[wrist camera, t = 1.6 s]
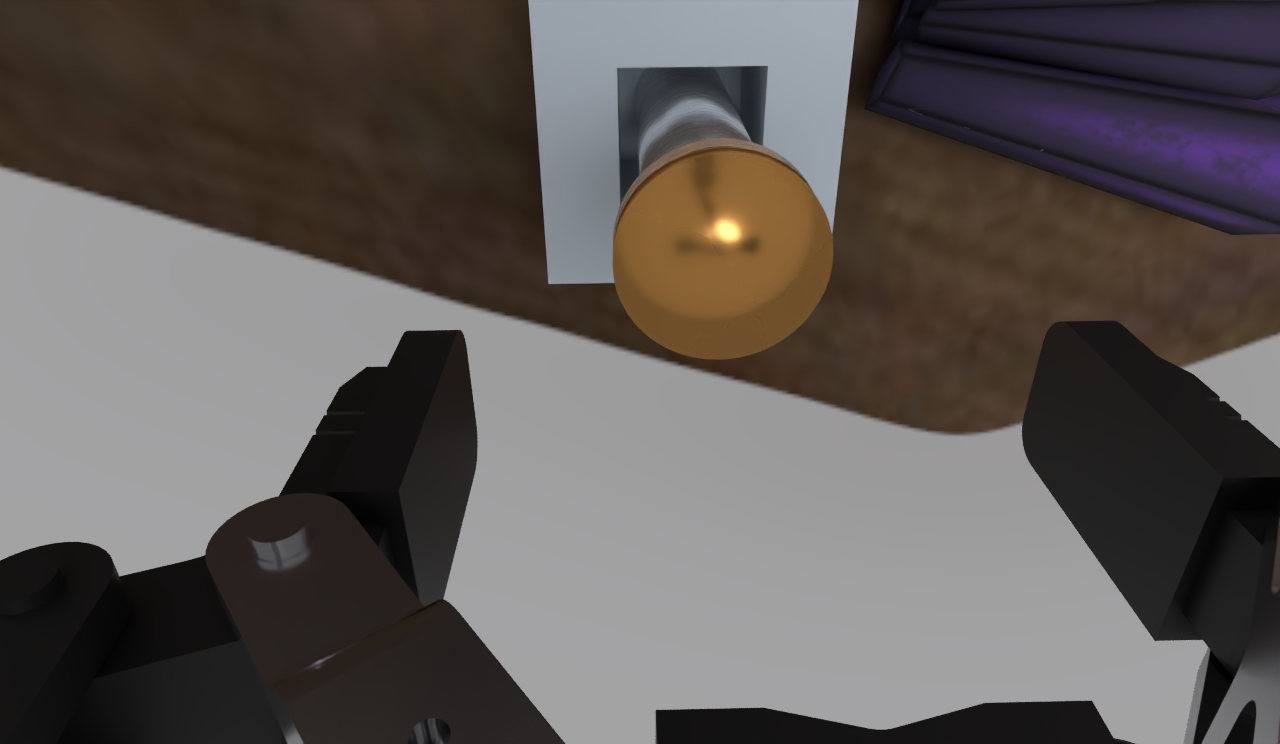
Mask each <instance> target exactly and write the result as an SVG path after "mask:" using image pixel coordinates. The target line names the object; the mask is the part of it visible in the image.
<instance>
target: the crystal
mask: <svg viewBox="0 0 1280 744" xmlns="http://www.w3.org/2000/svg"><path fill="white" fill-rule="evenodd" d="M891 40H893V41H899V42H898V43H897V45H896V46H895V48H894V49H893V51H892V52H891V54H890V55H889V57H888V58H887V59H886V61H885V62H884V64H883V65H882V67H881V68H880V70H879V71H878V73H877V76H876V79H875V81H874V84H873V87H872V89H871V92H870V95H869V98H868V100H867V103H866V106H865V108H864V109H867V110H870V111H873V112H876V113H879V114H881V115H884V116H887V117H890V118H893V119H896V120H899V121H902V122H905V123H908V124H911V125H914V126H916V127H919V128H922V129H925V130H928V131H931V132H934V133H937V134H940V135H943V136H946V137H948V138H951V139H954V140H957V141H960V142H963V143H966V144H969V145H972V146H975V147H978V148H981V149H983V150H986V151H989V152H992V153H995V154H998V155H1001V156H1004V157H1007V158H1010V159H1013V160H1015V161H1018V162H1021V163H1024V164H1027V165H1030V166H1033V167H1036V168H1039V169H1042V170H1045V171H1047V172H1050V173H1053V174H1056V175H1059V176H1062V177H1065V178H1068V179H1071V180H1074V181H1077V182H1080V183H1082V184H1085V185H1088V186H1091V187H1094V188H1097V189H1100V190H1103V191H1106V192H1109V193H1112V194H1114V195H1117V196H1120V197H1123V198H1126V199H1129V200H1132V201H1135V202H1138V203H1141V204H1144V205H1147V206H1149V207H1152V208H1155V209H1158V210H1161V211H1164V212H1167V213H1170V214H1173V215H1176V216H1179V217H1181V218H1184V219H1187V220H1190V221H1193V222H1196V223H1199V224H1202V225H1205V226H1208V227H1211V228H1214V229H1216V230H1219V231H1222V232H1225V233H1228V234H1231V235H1243V234H1280V0H904V2H903V4H902V7H901V9H900V12H899V14H898V16H897V19H896V21H895V25H894V29H893V34H892V39H891Z"/></svg>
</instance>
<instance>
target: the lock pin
mask: <svg viewBox="0 0 1280 744" xmlns="http://www.w3.org/2000/svg"><path fill="white" fill-rule="evenodd" d="M635 107H636V123H637V138H638V154H639V170H640V175H639V177H638V178H637V179H636V180H635V181H634V182H633V184H632V185H631V187H630V188H629V190H628V191H627V193H626V195H625V197H624V199H623V201H622V203H621V205H620V207H619V210H618V213H617V217H616V220H615V226H614V231H613V261H612V267H613V277H614V282H615V286H616V290H617V293H618V296H619V298H620V301H621V303H622V305H623V307H624V309H625V310H626V312H627V314H628V315H629V317H630V318H631V319H632V321H633V322H634V323H635V324H636V326H637V327H638V328H640V329H641V330H642V331H643V332H644V333H645V334H646V335H647V336H648V337H650V338H651V339H652V340H654V341H655V342H657V343H658V344H660V345H662V346H664V347H665V348H667V349H670V350H672V351H674V352H677V353H679V354H683V355H686V356H690V357H695V358H701V359H715V360H721V359H733V358H738V357H743V356H748V355H751V354H754V353H757V352H760V351H762V350H765V349H767V348H769V347H771V346H773V345H775V344H777V343H778V342H780V341H782V340H783V339H785V338H786V337H787V336H789V335H790V334H792V333H793V332H794V331H795V330H796V329H797V328H798V327H800V326H801V325H802V324H803V323H804V322H805V321H806V319H807V318H808V317H809V316H810V315H811V313H812V312H813V311H814V309H815V308H816V306H817V305H818V303H819V302H820V300H821V298H822V296H823V294H824V292H825V290H826V287H827V284H828V281H829V278H830V275H831V270H832V264H833V250H834V248H833V238H832V232H831V228H830V224H829V221H828V218H827V216H826V213H825V211H824V209H823V207H822V205H821V204H820V202H819V200H818V199H817V197H816V195H815V194H814V192H813V190H812V189H811V187H810V185H809V184H808V182H807V181H806V179H805V178H804V177H803V175H802V174H801V173H800V172H799V170H798V169H797V168H796V167H795V166H793V165H792V164H791V163H790V162H789V161H788V160H787V159H785V158H784V157H782V156H781V155H779V154H778V153H776V152H775V151H773V150H771V149H769V148H767V147H764V146H762V145H759V144H756V143H753V142H752V141H751V139H750V137H749V135H748V133H747V131H746V129H745V127H744V125H743V123H742V121H741V119H740V117H739V115H738V113H737V111H736V109H735V106H734V104H733V102H732V100H731V98H730V96H729V94H728V92H727V90H726V88H725V86H724V84H723V82H722V80H721V78H720V76H719V74H718V72H717V71H716V69H715V68H714V67H647V68H646V69H645V70H644V72H643V73H642V75H641V77H640V79H639V81H638V84H637V87H636V92H635Z"/></svg>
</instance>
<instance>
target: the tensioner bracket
mask: <svg viewBox="0 0 1280 744" xmlns="http://www.w3.org/2000/svg"><path fill="white" fill-rule="evenodd" d="M858 1H859V0H528V2H529V16H530V30H531V44H532V58H533V72H534V86H535V100H536V114H537V128H538V143H539V157H540V171H541V185H542V199H543V213H544V227H545V241H546V255H547V269H548V284H578V283H615V282H614V277H613V267H612V261H613V231H614V226H615V220H616V217H617V213H618V210H619V207H620V205H621V203H622V201H623V199H624V197H625V195H626V193H627V191H628V190H629V188H630V187H631V185H632V184H633V182H634V181H635V180H636V179H637V178H638V177H639V175H640V170H639V154H638V138H637V123H636V107H635V92H636V87H637V84H638V81H639V79H640V77H641V75H642V73H643V72H644V70H645V69H646V68H647V67H714V68H715V69H716V71H717V72H718V74H719V76H720V78H721V80H722V82H723V84H724V86H725V88H726V90H727V92H728V94H729V96H730V98H731V100H732V102H733V104H734V106H735V109H736V111H737V113H738V115H739V117H740V119H741V121H742V123H743V125H744V127H745V129H746V131H747V133H748V135H749V137H750V139H751V141H752V142H753V143H756V144H759V145H762V146H764V147H767V148H769V149H771V150H773V151H775V152H776V153H778V154H779V155H781V156H782V157H784V158H785V159H787V160H788V161H789V162H790V163H791V164H792V165H793V166H795V167H796V168H797V169H798V170H799V172H800V173H801V174H802V175H803V177H804V178H805V179H806V181H807V182H808V184H809V185H810V187H811V189H812V190H813V192H814V194H815V195H816V197H817V199H818V200H819V202H820V204H821V205H822V207H823V209H824V211H825V213H826V216H827V218H828V221H829V224H830V228H831V232H832V231H833V222H834V213H835V204H836V195H837V187H838V178H839V169H840V160H841V151H842V143H843V134H844V125H845V116H846V107H847V98H848V90H849V81H850V72H851V63H852V54H853V45H854V37H855V28H856V19H857V10H858Z"/></svg>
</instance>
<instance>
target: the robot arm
mask: <svg viewBox="0 0 1280 744" xmlns="http://www.w3.org/2000/svg"><path fill="white" fill-rule="evenodd" d="M1219 398H1220V397H1219V396H1218V395H1217V394H1216V393H1215V392H1213V391H1212V390H1211V389H1210V388H1209V387H1208V386H1206V385H1205V384H1204V383H1203V382H1202V381H1201V380H1199V379H1198V378H1197V377H1196V376H1195V375H1194V374H1192V373H1190V372H1188V371H1186V370H1184V369H1182V368H1180V367H1178V366H1176V365H1174V364H1172V363H1170V362H1168V361H1166V360H1164V359H1162V358H1160V357H1158V356H1157V355H1156V354H1154V353H1153V352H1152V351H1151V350H1150V349H1149V348H1148V347H1147V346H1145V345H1144V344H1143V343H1142V342H1141V341H1140V340H1139V339H1137V338H1136V337H1135V336H1134V335H1133V334H1132V333H1131V332H1129V331H1128V330H1127V329H1126V328H1125V327H1124V326H1123V325H1121V324H1120V323H1119V322H1116V321H1067V322H1056V323H1055V324H1053V325H1052V326H1051V327H1050V328H1049V330H1048V331H1047V333H1046V336H1045V338H1044V341H1043V345H1042V349H1041V353H1040V357H1039V360H1038V364H1037V368H1036V372H1035V376H1034V380H1033V383H1032V387H1031V391H1030V395H1029V399H1028V402H1027V406H1026V410H1025V414H1024V418H1023V425H1022V439H1023V446H1024V450H1025V453H1026V456H1027V458H1028V461H1029V462H1030V464H1031V466H1032V467H1033V468H1034V470H1035V471H1036V473H1037V474H1038V475H1039V477H1040V478H1041V480H1042V481H1043V483H1044V484H1045V485H1046V487H1047V488H1048V489H1049V491H1050V492H1051V494H1052V495H1053V497H1054V498H1055V500H1056V501H1057V502H1058V504H1059V505H1060V507H1061V508H1062V509H1063V511H1064V512H1065V514H1066V515H1067V517H1068V518H1069V520H1070V521H1071V522H1072V524H1073V525H1074V527H1075V528H1076V529H1077V531H1078V532H1079V534H1080V535H1081V537H1082V538H1083V539H1084V541H1085V542H1086V544H1087V545H1088V547H1089V548H1090V549H1091V551H1092V552H1093V553H1094V555H1095V556H1096V558H1097V559H1098V561H1099V562H1100V563H1101V565H1102V566H1103V568H1104V569H1105V570H1106V572H1107V574H1108V575H1109V576H1110V578H1111V579H1112V581H1113V582H1114V583H1115V585H1116V586H1117V588H1118V589H1119V591H1120V592H1121V593H1122V595H1123V596H1124V598H1125V599H1126V600H1127V602H1128V603H1129V605H1130V606H1131V607H1132V609H1133V610H1134V612H1135V613H1136V614H1137V616H1138V617H1139V619H1140V620H1141V622H1142V623H1143V624H1144V626H1145V627H1146V629H1147V630H1148V632H1149V633H1150V635H1151V636H1152V637H1153V639H1154V640H1155V641H1159V640H1203V641H1204V642H1205V643H1206V644H1207V646H1208V647H1209V648H1208V650H1207V652H1206V654H1205V656H1204V658H1203V660H1202V663H1201V665H1200V667H1199V670H1198V674H1197V678H1196V684H1195V688H1194V694H1193V699H1192V704H1191V709H1190V714H1189V719H1188V724H1187V729H1186V734H1185V739H1184V744H1280V448H1279V447H1278V446H1276V445H1275V444H1274V443H1273V442H1272V441H1271V440H1269V439H1268V438H1267V437H1266V436H1265V435H1264V434H1262V433H1261V432H1260V431H1259V430H1258V429H1256V428H1255V427H1254V426H1253V425H1252V424H1251V423H1250V422H1248V421H1247V420H1241V415H1240V414H1239V413H1238V412H1237V411H1236V410H1234V409H1233V408H1232V407H1231V406H1230V405H1229V404H1227V403H1226V402H1225V401H1220V400H1219ZM476 462H477V427H476V418H475V410H474V402H473V395H472V388H471V379H470V371H469V363H468V355H467V348H466V342H465V338H464V335H463V333H462V331H461V330H435V331H406V332H405V333H404V334H403V336H402V338H401V340H400V342H399V344H398V346H397V348H396V350H395V352H394V354H393V356H392V358H391V360H390V362H389V364H388V367H366V368H365V369H363V370H362V371H361V372H359V373H358V374H357V375H356V376H354V377H353V378H352V379H350V380H349V381H348V382H346V383H345V384H344V385H342V386H341V387H340V388H339V390H338V392H337V393H336V395H335V397H334V399H333V400H332V402H331V404H330V406H329V408H328V409H327V415H324V416H323V419H322V420H321V422H320V424H319V426H318V427H317V429H316V435H313V436H312V438H311V440H310V441H309V443H308V445H307V447H306V449H305V450H304V452H303V454H302V456H301V458H300V460H299V461H298V463H297V465H296V466H295V468H294V470H293V472H292V474H291V475H290V477H289V479H288V481H287V482H286V484H285V486H284V488H283V490H282V492H281V493H280V495H279V496H278V497H274V498H270V499H267V500H264V501H261V502H259V503H256V504H254V505H252V506H250V507H248V508H246V509H244V510H242V511H241V512H239V513H237V514H236V515H234V516H233V517H231V518H230V519H229V520H227V521H226V522H225V523H224V524H223V525H222V526H221V527H220V528H219V529H218V530H217V531H216V532H215V534H214V535H213V536H212V538H211V540H210V542H209V543H208V546H207V549H206V555H204V556H202V557H199V558H195V559H192V560H188V561H184V562H180V563H175V564H172V565H167V566H163V567H158V568H154V569H150V570H145V571H141V572H137V573H132V574H128V575H124V576H120V577H119V575H118V573H117V570H116V568H115V566H114V563H113V561H112V558H111V557H110V555H109V554H108V553H107V552H106V551H105V550H104V549H102V548H100V547H99V546H96V545H92V544H89V543H81V542H63V543H54V544H48V545H44V546H39V547H36V548H32V549H29V550H25V551H22V552H20V553H17V554H14V555H12V556H9V557H7V558H5V559H3V560H1V561H0V744H565V743H564V742H563V740H562V739H561V738H560V737H559V736H558V734H557V733H556V732H555V731H554V729H553V728H552V727H551V726H550V724H549V723H548V722H547V721H546V719H545V718H544V717H543V716H542V714H541V713H540V712H539V711H538V710H537V708H536V707H535V706H534V705H533V703H532V702H531V701H530V700H529V698H528V697H527V696H526V695H525V693H524V692H523V691H522V690H521V689H520V687H519V686H518V685H517V684H516V682H515V681H514V680H513V679H512V677H511V676H510V675H509V674H508V673H507V671H506V670H505V669H504V668H503V666H502V665H501V664H500V663H499V661H498V660H497V659H496V658H495V656H494V655H493V654H492V653H491V652H490V650H489V649H488V648H487V647H486V645H485V644H484V643H483V642H482V640H481V639H480V638H479V637H478V636H477V634H476V633H475V632H474V631H473V630H472V628H471V627H470V626H469V624H468V623H467V622H466V621H465V620H464V618H463V617H462V616H461V615H460V613H459V612H458V611H457V610H456V609H455V608H454V607H453V606H452V605H451V604H450V603H449V602H447V601H446V600H443V598H444V594H445V590H446V586H447V582H448V578H449V574H450V570H451V566H452V562H453V558H454V554H455V550H456V546H457V542H458V538H459V534H460V530H461V526H462V522H463V518H464V514H465V510H466V506H467V502H468V498H469V494H470V490H471V486H472V482H473V478H474V474H475V469H476ZM656 744H1135V743H1131V742H1128V741H1125V740H1120V739H1115V738H1113V737H1112V735H1111V733H1110V732H1109V730H1108V728H1107V726H1106V724H1105V723H1104V721H1103V719H1102V718H1101V716H1100V714H1099V712H1098V711H1097V709H1096V707H1095V706H1094V704H1093V702H1092V701H1060V702H1059V701H1057V702H1009V703H983V704H980V705H977V706H973V707H969V708H965V709H962V710H958V711H955V712H951V713H947V714H944V715H940V716H936V717H933V718H929V719H925V720H922V721H918V722H915V723H911V724H908V725H904V726H900V727H897V728H893V729H887V730H875V729H868V728H863V727H858V726H853V725H848V724H843V723H838V722H833V721H828V720H823V719H818V718H812V717H807V716H802V715H797V714H792V713H787V712H782V711H777V710H772V709H767V708H733V709H732V708H730V709H686V710H685V709H684V710H656Z"/></svg>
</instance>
